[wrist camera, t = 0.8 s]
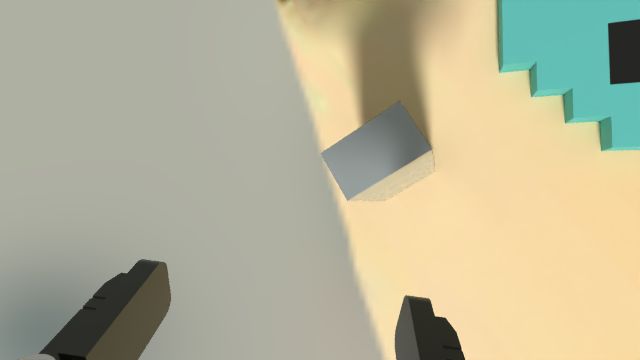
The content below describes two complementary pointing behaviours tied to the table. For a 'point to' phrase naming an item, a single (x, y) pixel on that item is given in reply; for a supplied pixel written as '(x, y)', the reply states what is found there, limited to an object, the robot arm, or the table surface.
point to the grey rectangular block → (380, 157)
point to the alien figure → (579, 59)
